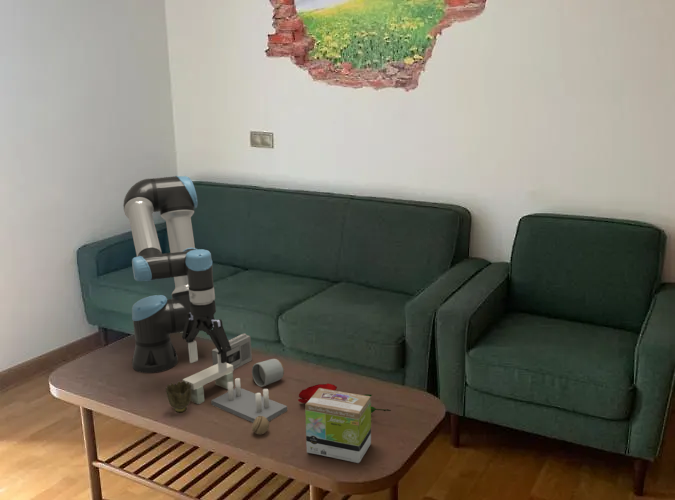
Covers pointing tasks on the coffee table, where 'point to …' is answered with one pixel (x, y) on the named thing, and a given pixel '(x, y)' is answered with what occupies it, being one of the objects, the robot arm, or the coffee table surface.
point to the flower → (310, 391)
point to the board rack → (198, 393)
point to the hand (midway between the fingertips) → (208, 366)
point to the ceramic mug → (267, 372)
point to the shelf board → (206, 376)
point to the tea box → (338, 424)
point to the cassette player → (236, 351)
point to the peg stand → (248, 403)
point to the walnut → (260, 425)
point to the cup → (179, 396)
